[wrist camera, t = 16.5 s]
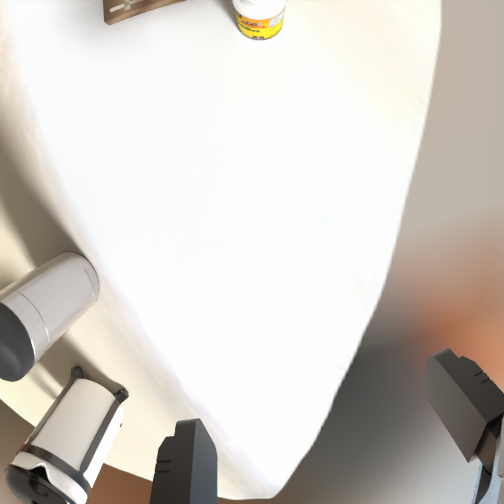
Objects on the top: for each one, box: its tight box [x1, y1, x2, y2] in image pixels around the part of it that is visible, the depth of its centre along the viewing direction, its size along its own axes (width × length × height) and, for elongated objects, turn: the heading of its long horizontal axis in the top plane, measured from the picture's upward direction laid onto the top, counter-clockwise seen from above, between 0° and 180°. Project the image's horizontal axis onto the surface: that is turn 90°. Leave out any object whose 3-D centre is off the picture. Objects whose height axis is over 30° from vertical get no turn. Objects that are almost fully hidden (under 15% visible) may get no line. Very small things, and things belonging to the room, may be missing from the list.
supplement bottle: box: [232, 0, 286, 41], centre depth 27 cm, size 6×6×10 cm
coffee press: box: [5, 366, 129, 504], centre depth 36 cm, size 17×16×30 cm
